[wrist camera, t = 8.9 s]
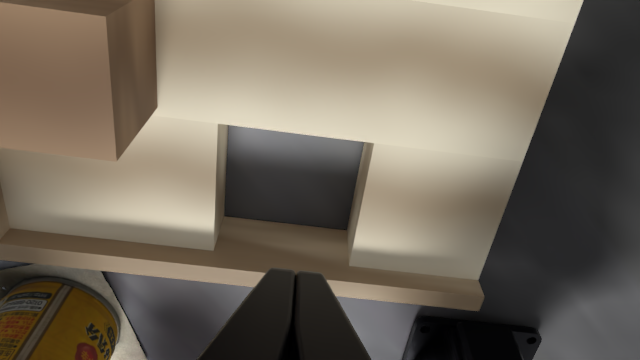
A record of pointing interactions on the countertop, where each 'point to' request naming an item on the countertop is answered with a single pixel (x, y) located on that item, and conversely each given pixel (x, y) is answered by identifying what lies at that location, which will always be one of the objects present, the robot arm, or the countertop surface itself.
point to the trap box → (318, 120)
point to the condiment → (62, 316)
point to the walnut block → (76, 75)
